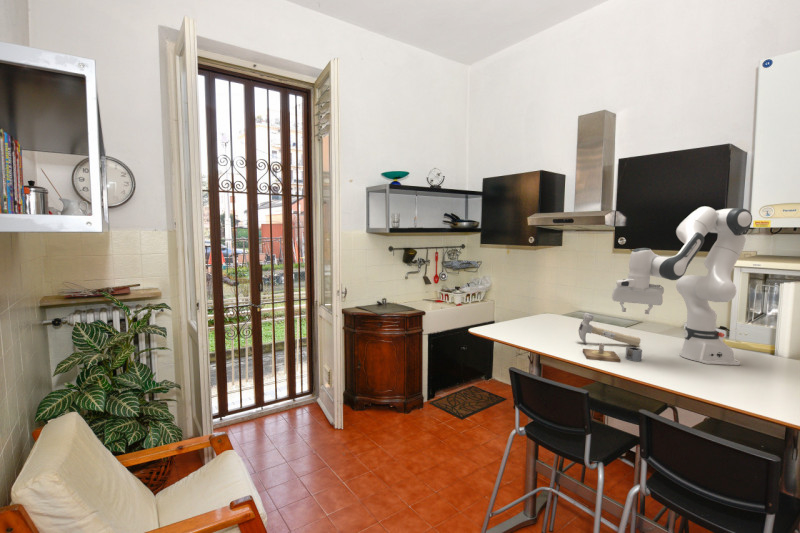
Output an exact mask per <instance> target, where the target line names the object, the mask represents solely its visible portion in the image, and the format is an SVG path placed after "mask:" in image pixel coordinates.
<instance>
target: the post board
mask: <svg viewBox="0 0 800 533" xmlns="http://www.w3.org/2000/svg"><path fill="white" fill-rule="evenodd" d="M604 348H605V345H604V343H602V342H600V343H599V345H598V349H594V348H593V349H591V348H582V353H583V354H584V356H585V358H586V360H594V361H603V362H614V363H621V361H622V359H621V357H620V356H619V355H618V354H617V353H616V352H615V351H614V350H613V351H612V350H604Z"/></svg>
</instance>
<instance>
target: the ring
mask: <svg viewBox="0 0 800 533" xmlns="http://www.w3.org/2000/svg"><path fill="white" fill-rule="evenodd" d="M642 356H643V349H641V348H640V347H639V348H638V347H637V346H626V347H625V358H624V359H626V360H628V361H631V362H641V361H642Z"/></svg>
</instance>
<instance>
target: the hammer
mask: <svg viewBox="0 0 800 533" xmlns="http://www.w3.org/2000/svg"><path fill="white" fill-rule="evenodd" d="M582 319H583V320H582V321H581V322H580V323H579V324H580V325H579V327H578V330H577V331H578V336H579V339H580V340H581V341H582V342H583V343H584V344H585V345H588V343H587V341H586V340H587V339H586V335H587V334H594V335H598V336H601V337H605V338H608V339H610V340H613V341H616V342H620V343H624V344H627V345H630V346H632V347H639V346H640V344H641V340H642V339H641V337H638V336H632V335H627V334H623V333H619V332H616V331H613V330H609V329H604V328H602V327H596V326H593V325H592V324H590V323H591V322H592V321H593V320H594V315H593V314H591V313H589V312H584V314H582Z"/></svg>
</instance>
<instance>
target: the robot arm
mask: <svg viewBox="0 0 800 533" xmlns="http://www.w3.org/2000/svg"><path fill="white" fill-rule="evenodd" d="M752 222H753V215H752V213H751V212H750V211H749V210H748V209H747V208H741V207H735V208H723V209H722V208H721V209H717V210H716V209H714V208H713V207H710V206H705V205H704V206H700V207H697V209H695V210H694V211H692V212H691V213H690V214H689V215H688V216H687V217H686V218H684V219H683V220H682V221H681V222H680V223H679V225H678V226H677V227H676V230H675V234H676V236H677V239H678V240H679V241H680V242H682V243H683V244H684V245H683V246H682V247H681V249H680V250H679V251H678V252H677V254H675V255H673V256H662V255H661V256H660V255H659V254H656V253H654V252H653V251H652V249H651V248H648V247H640V248H639V247H638V248H634V249H633V250H632V251H631V253H630V255H629V261H628V262H629V263H628V269H629V271H628V274H627V278H624V279H623V278H622V279H617V280H615V281H616V282H615V284H616V285H615V286H614V288H613V289H612V290H613V291H612V294H611V299H612V301H613V302H618V303H619V304H620V306H621V312H622V313H624V312H625V313H626V312H627V308H626V307H625V306H624V305H625V303H628V304H639V305H640V304H641V305H648V308H647V309H644V314H645V315H650V311H651V310H652V309H653V308H654V306H662V305H663V294H664V292H665V289H664V287H663V286H662V285H661V284H653V283H651V277H656V278H661V279H666V280H670V281H676V285H675V288H676V290H677V293H678V294H680V295H681V298H683V300H684V303H685V306H686V311H687V312H686V313H687V315H686V316H687V317H686V326H685V329H684V335H683V336H684V340H683V345H682V348H681V351H680V353H679V356H681V357H682V358H685V359H688V360H692V361H695V362H699V363H702V364H707V365H726V366H727V365H728V366H730V365H731V366H740V365H741V362H740V361H739V360H738V359H736V358H735V356H734V350H733V348H732V347H731V346H729V345H728V344H726V343H725V341H723V340H721V339H720V338H724V337H725V334H724V332H720V331H718V330H716V328H717V318H718V317H717V316H718V314H717V312H716V311H715V310H714V309H712V307H711V306H710V304H709V302H712V303H729V302H731V301H732V300H733V299H734V298H735V297H736V293H737V287H736V285H735V284H734V282H733V281H732V272H733V270H734V267H735V265H736V263H737V261H738V259H739V258H740V256H741V254H742V252H743V249H744V247H745V243H746V236H745V235H744V234H746V233H747V232H748V231H749V229H750V227H751V225H752ZM707 234H717V239H716V241H715V242H714V244H713V245H712V246H711V248H710V250H709V252H708V253H707V255H706V257H705V259H704V261H703V264H704V266H705V268H706V269H707V270H708V272H707V274H706V275H705V276H704V275H697V274H688V275H685V274H686V272H687V269H688V267H689V265H690V264H691V262H692V261H693V260H694V258H695V256H697V254H698V252H699V251H700V250H701V248H702V246H703V245H704V243H705V236H706V235H707Z"/></svg>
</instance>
